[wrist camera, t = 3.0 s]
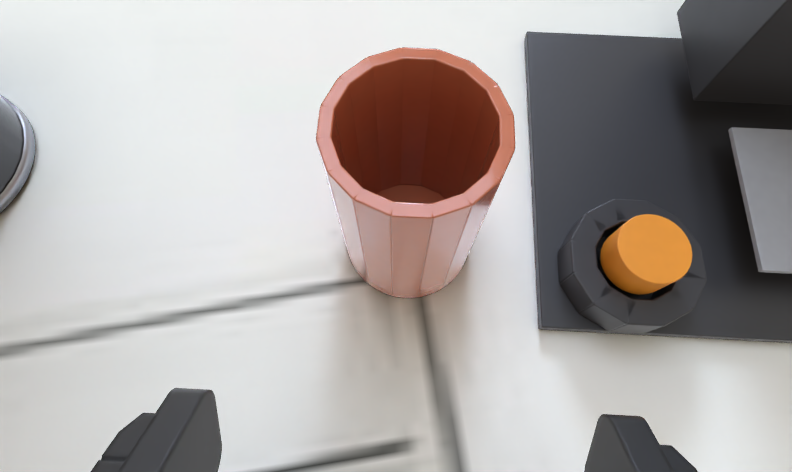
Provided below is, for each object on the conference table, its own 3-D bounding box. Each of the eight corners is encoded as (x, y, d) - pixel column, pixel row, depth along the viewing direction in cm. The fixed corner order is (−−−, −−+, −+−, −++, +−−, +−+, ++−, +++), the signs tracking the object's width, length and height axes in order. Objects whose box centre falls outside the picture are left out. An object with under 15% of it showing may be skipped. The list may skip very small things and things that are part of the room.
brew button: (673, 296, 22) (698, 285, 21) (603, 293, 22) (621, 281, 21) (664, 231, 23) (686, 215, 22) (596, 228, 24) (613, 211, 22)
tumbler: (321, 234, 26) (277, 119, 16) (411, 162, 27) (420, 17, 17) (403, 324, 24) (410, 259, 14) (494, 243, 26) (556, 133, 16)
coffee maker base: (953, 352, 24) (1017, 345, 21) (538, 330, 24) (554, 320, 22) (851, 52, 30) (891, 20, 28) (524, 38, 30) (535, 5, 28)
